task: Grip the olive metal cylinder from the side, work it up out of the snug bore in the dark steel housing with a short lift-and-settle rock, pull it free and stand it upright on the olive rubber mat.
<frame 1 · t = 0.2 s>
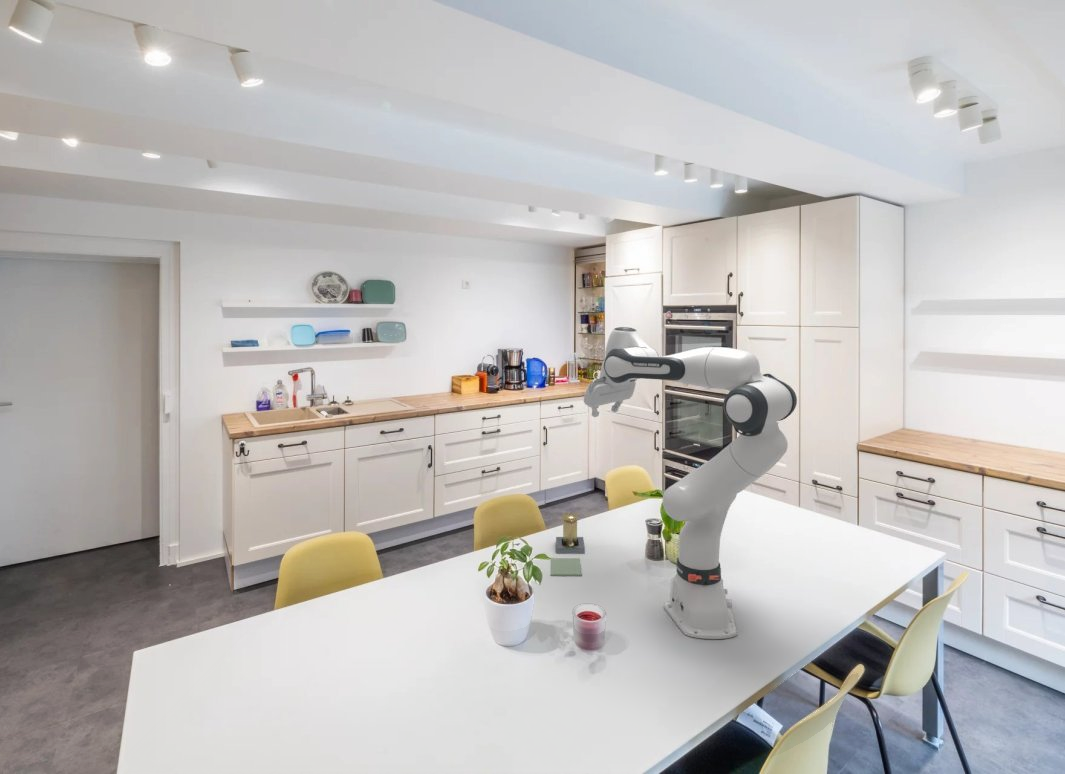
hand: (604, 413, 179), 52 cm above the table, tool tilted 20°, fingers open, 8 cm apart
housing: (570, 549, 197), on the table
mat: (565, 567, 183), on the table
olive metal cylinder: (570, 547, 197), resting on housing
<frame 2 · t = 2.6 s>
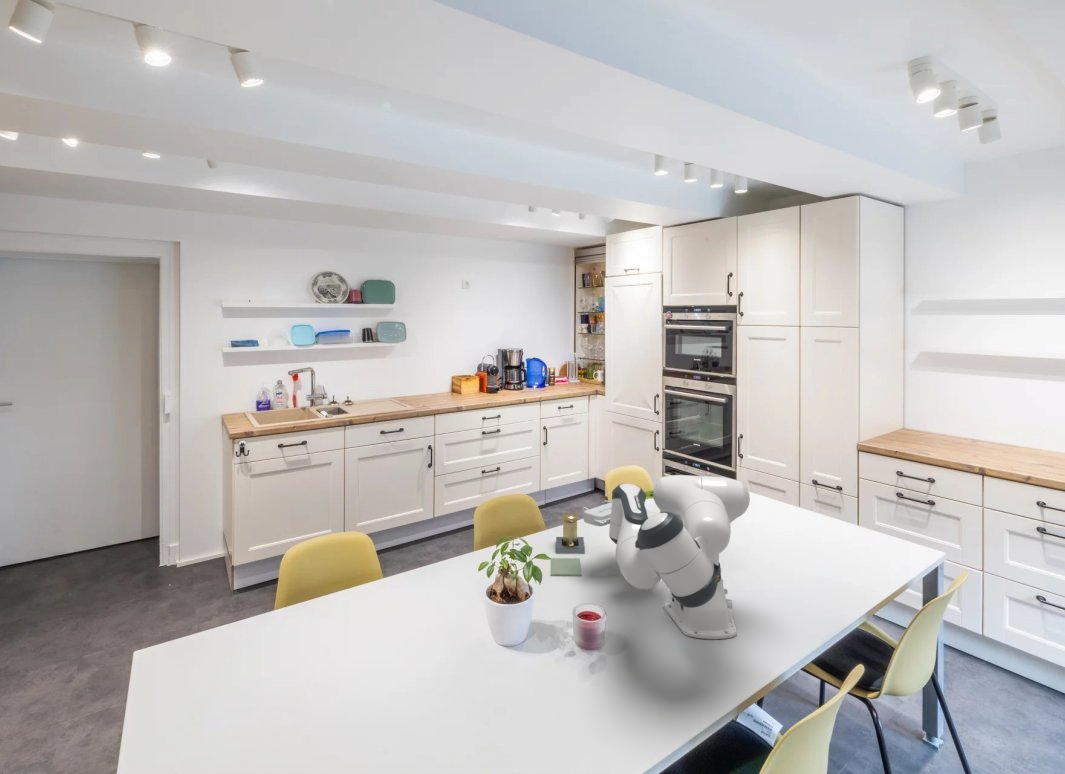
hand: (593, 505, 186), 20 cm above the table, tool horizontal, fingers open, 8 cm apart
nothing on the table moved.
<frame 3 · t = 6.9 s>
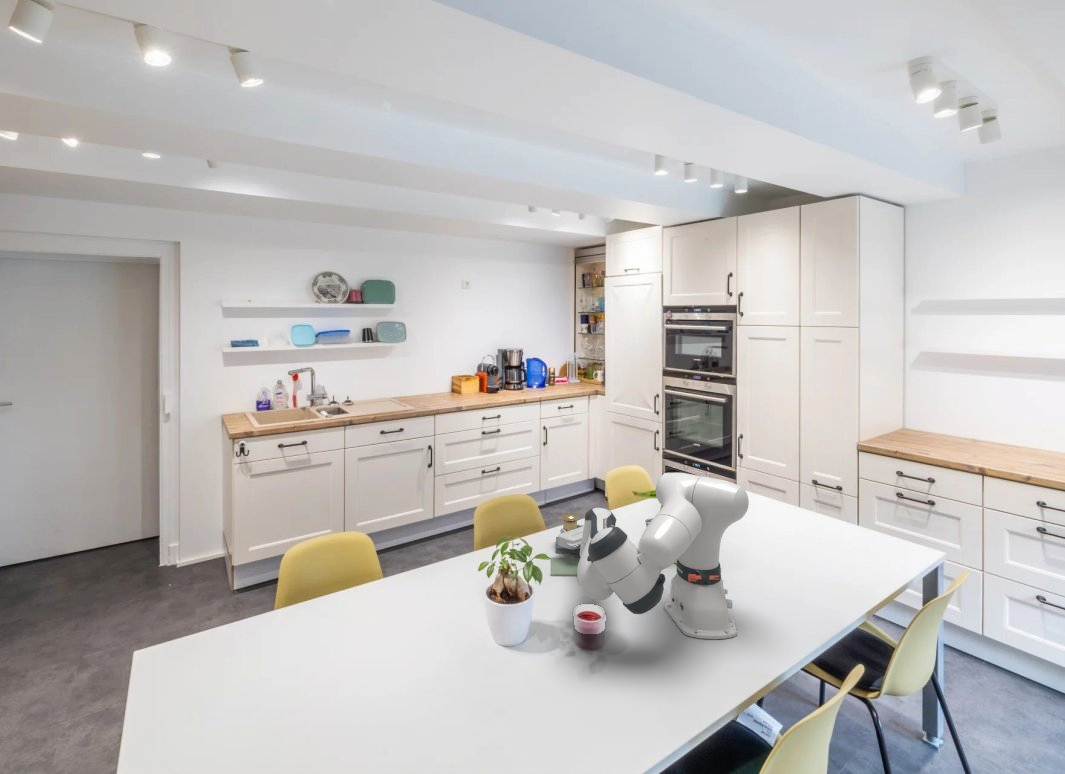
hand: (568, 528, 197), 7 cm above the table, tool horizontal, fingers closed on olive metal cylinder, 5 cm apart
olive metal cylinder: (570, 547, 197), resting on housing, touching gripper
when the fingers open (9 cm above the table, at t = 13.9 s): olive metal cylinder drops 1 cm, resting on mat.
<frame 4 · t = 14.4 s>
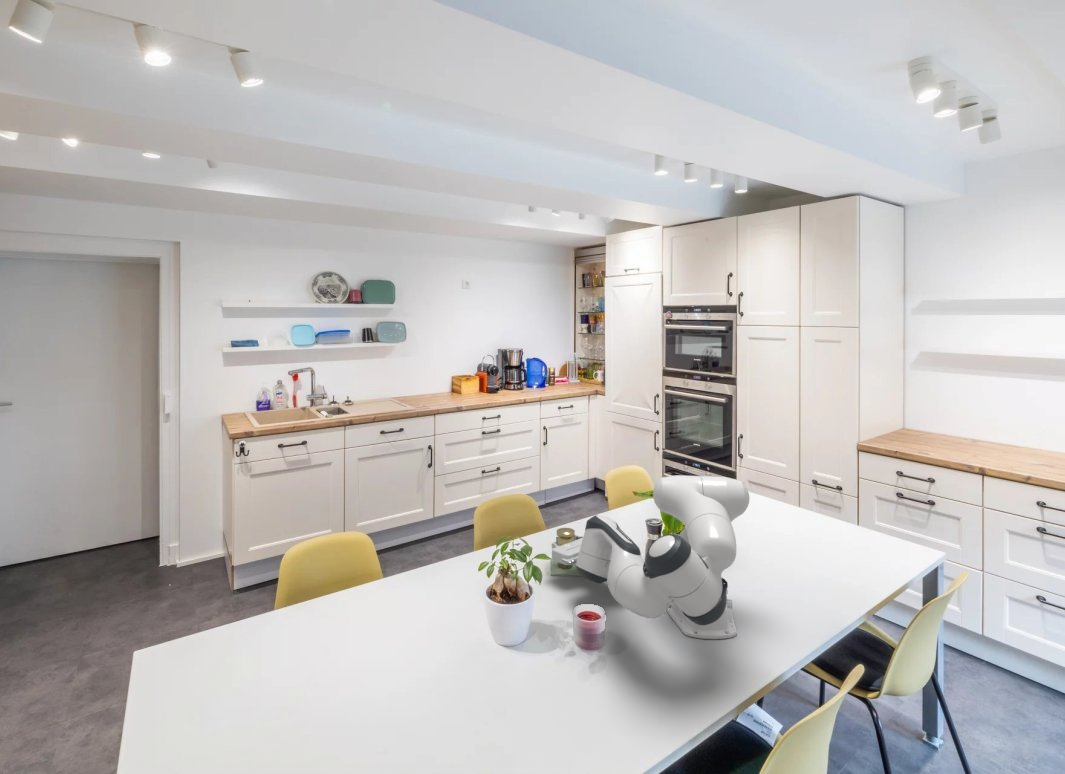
hand: (563, 541, 182), 9 cm above the table, tool horizontal, fingers open, 8 cm apart
olive metal cylinder: (565, 566, 183), point 1 cm above the table, touching mat
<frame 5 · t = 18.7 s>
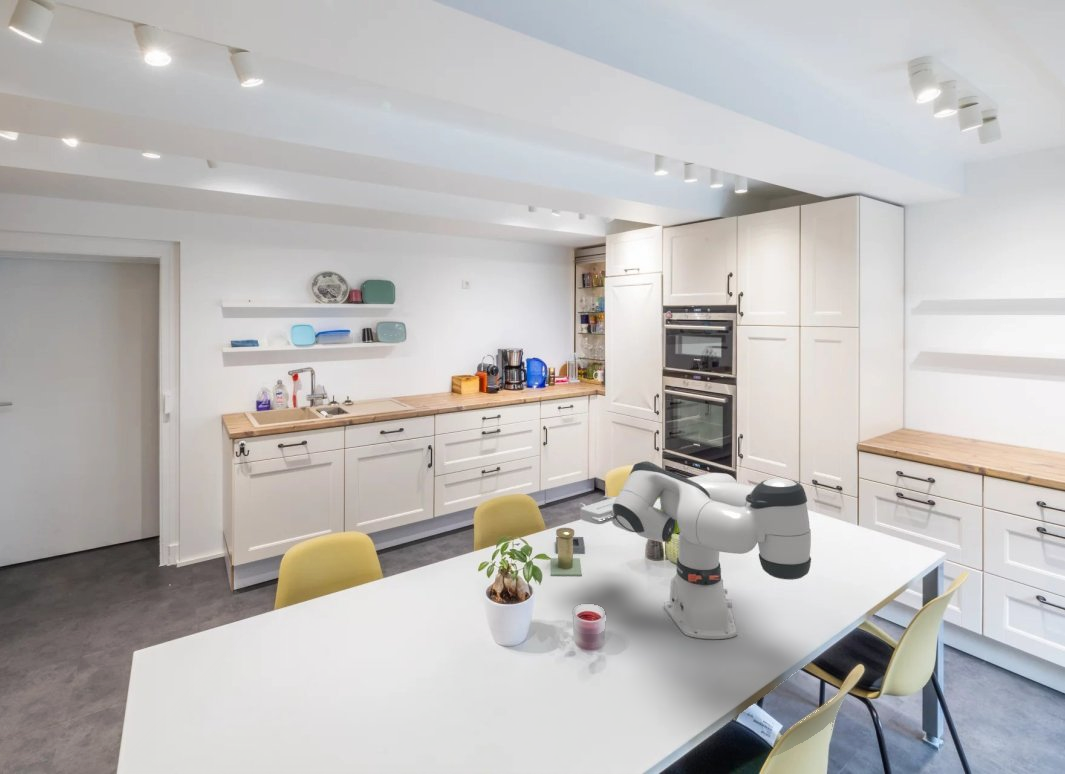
hand: (591, 501, 170), 26 cm above the table, tool horizontal, fingers open, 8 cm apart
nothing on the table moved.
at the end: olive metal cylinder inside the target area on the mat (0.1 cm from its centre), point 0.6 cm above the mat's base; olive metal cylinder tilted 0°; the gripper is holding nothing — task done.
